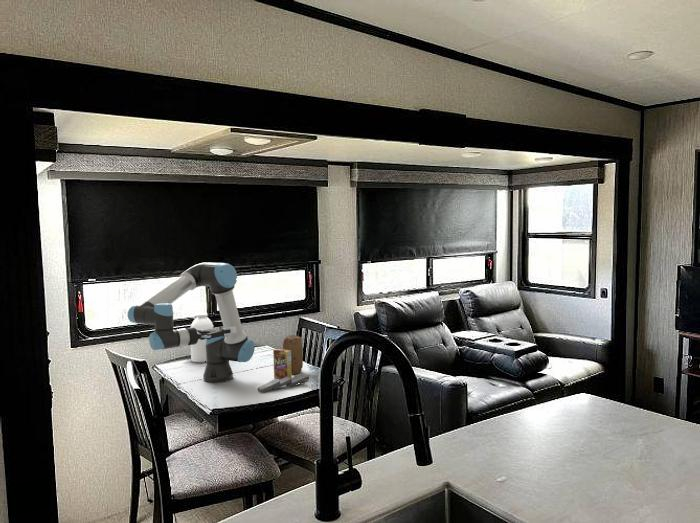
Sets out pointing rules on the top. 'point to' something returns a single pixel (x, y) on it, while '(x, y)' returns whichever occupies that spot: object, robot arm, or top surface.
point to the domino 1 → (268, 385)
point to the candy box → (282, 363)
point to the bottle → (200, 347)
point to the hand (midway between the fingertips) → (235, 329)
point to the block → (294, 352)
